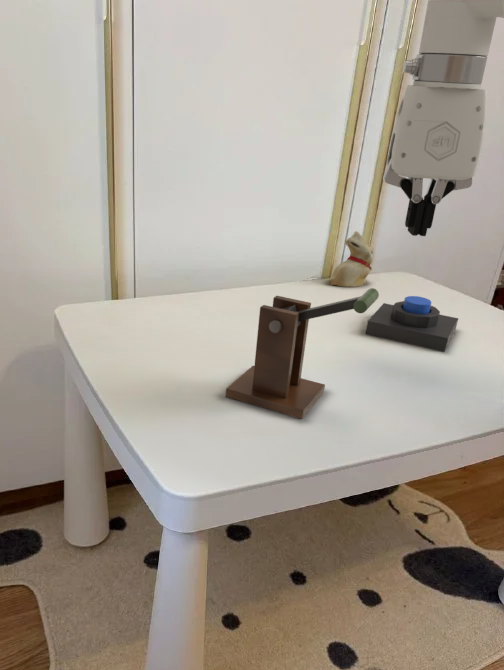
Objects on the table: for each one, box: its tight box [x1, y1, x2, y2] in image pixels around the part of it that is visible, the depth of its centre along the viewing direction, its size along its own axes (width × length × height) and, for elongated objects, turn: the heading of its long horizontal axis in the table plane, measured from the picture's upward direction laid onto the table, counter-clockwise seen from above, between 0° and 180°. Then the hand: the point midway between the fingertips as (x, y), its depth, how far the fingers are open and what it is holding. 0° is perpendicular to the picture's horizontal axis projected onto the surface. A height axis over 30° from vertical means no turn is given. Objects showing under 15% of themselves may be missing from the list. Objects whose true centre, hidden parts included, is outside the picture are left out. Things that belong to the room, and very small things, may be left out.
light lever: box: [280, 287, 380, 327], centre depth 71 cm, size 12×5×2 cm, turn 62°
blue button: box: [403, 295, 432, 314], centre depth 98 cm, size 4×4×2 cm
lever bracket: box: [225, 295, 326, 420], centre depth 76 cm, size 10×8×12 cm
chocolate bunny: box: [329, 230, 375, 288], centre depth 119 cm, size 6×8×10 cm
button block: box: [365, 300, 459, 353], centre depth 99 cm, size 12×10×4 cm
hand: (416, 233), depth 82 cm, fingers closed
